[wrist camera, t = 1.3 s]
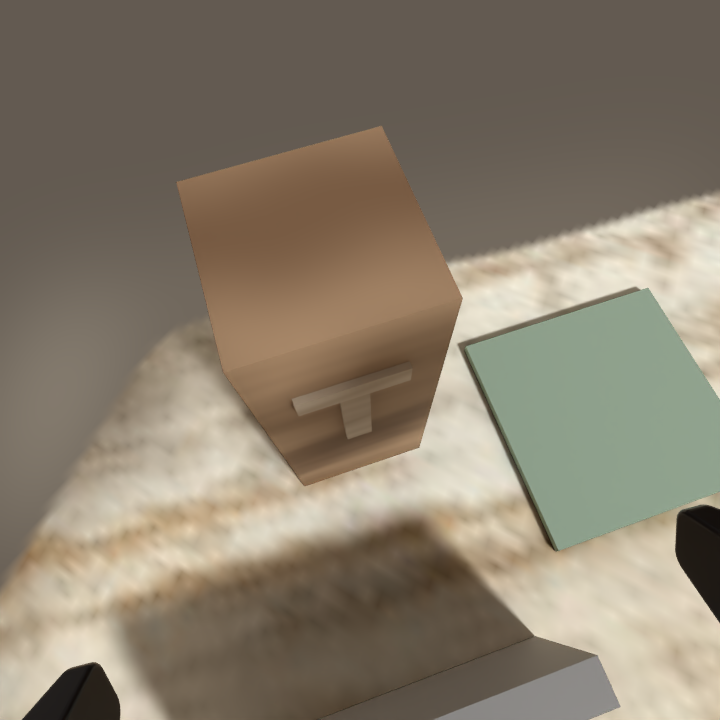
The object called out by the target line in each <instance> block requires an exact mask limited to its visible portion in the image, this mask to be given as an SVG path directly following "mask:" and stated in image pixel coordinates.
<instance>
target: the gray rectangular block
mask: <svg viewBox="0 0 720 720" xmlns="http://www.w3.org/2000/svg"><path fill="white" fill-rule="evenodd" d="M619 707H620V704H619V702H618V700H617V698H616V696H615V693H614V691H613V689H612V687H611V684H610V682H609V680H608V678H607V676H606V673H605V671H604V669H603V667H602V664H601V662H600V660H599V658H598V655H595V654H591V653H588V652H585V651H582V650H578V649H575V648H572V647H569V646H565V645H562V644H559V643H556V642H552V641H549V640H546V639H543V638H539V637H536V636H535V637H532V638H530V639H527V640H524V641H522V642H519V643H516V644H514V645H511V646H509V647H506V648H503V649H501V650H498V651H496V652H493V653H490V654H488V655H485V656H483V657H480V658H477V659H475V660H472V661H469V662H467V663H464V664H462V665H459V666H456V667H454V668H451V669H449V670H446V671H443V672H441V673H438V674H436V675H433V676H430V677H428V678H425V679H422V680H420V681H417V682H415V683H412V684H409V685H407V686H404V687H402V688H399V689H396V690H394V691H391V692H388V693H386V694H383V695H381V696H378V697H375V698H373V699H370V700H368V701H365V702H362V703H360V704H357V705H355V706H352V707H349V708H347V709H344V710H341V711H339V712H336V713H334V714H331V715H328V716H326V717H323V718H321V719H318V720H589V719H592V718H594V717H597V716H599V715H602V714H604V713H607V712H609V711H611V710H614V709H616V708H619Z"/></svg>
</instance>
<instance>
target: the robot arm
mask: <svg viewBox="0 0 720 720" xmlns="http://www.w3.org/2000/svg"><path fill="white" fill-rule="evenodd" d="M675 552H676V557H677V560H678V562H679V564H680V566H681V567H682V569H683V570H684V572H685V573H686V575H687V576H688V578H689V579H690V581H691V582H692V584H693V585H694V586H695V588H696V589H697V591H698V592H699V594H700V595H701V597H702V598H703V599H704V601H705V602H706V604H707V605H708V607H709V608H710V610H711V611H712V613H713V614H714V615H715V617H716V618H717V620H718V621H719V623H720V509H718V508H715V507H712V506H709V505H698V506H695V507H691V508H687V509H683V510H681V511H680V512H679V513H678V515H677V523H676V544H675ZM22 720H120V703H119V699H118V696H117V694H116V693H115V691H114V689H113V687H112V685H111V683H110V681H109V679H108V677H107V676H106V674H105V672H104V670H103V668H102V667H101V665H100V664H98V663H96V662H91V663H87V664H84V665H80V666H76V667H72V668H70V669H68V670H66V671H65V672H64V673H63V674H62V675H61V676H60V677H59V678H58V679H57V680H56V682H55V683H54V684H53V685H52V686H51V687H50V688H49V690H48V691H47V692H46V693H45V694H44V695H43V696H42V698H41V699H40V700H39V701H38V702H37V703H36V704H35V705H34V707H33V708H32V709H31V710H30V711H29V712H28V713H27V715H26V716H25V717H24V718H23V719H22Z"/></svg>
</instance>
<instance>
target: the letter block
mask: <svg viewBox="0 0 720 720" xmlns="http://www.w3.org/2000/svg"><path fill="white" fill-rule="evenodd" d="M176 183H177V187H178V191H179V195H180V199H181V203H182V207H183V211H184V215H185V219H186V224H187V228H188V232H189V235H190V240H191V244H192V248H193V252H194V256H195V260H196V264H197V268H198V272H199V276H200V280H201V284H202V288H203V293H204V297H205V300H206V305H207V309H208V313H209V317H210V321H211V325H212V329H213V333H214V337H215V341H216V345H217V349H218V353H219V357H220V361H221V366H222V370H223V373H224V374H225V376H226V377H227V379H228V380H229V381H230V383H231V384H232V386H233V387H234V388H235V390H236V391H237V393H238V394H239V395H240V397H241V398H242V400H243V401H244V402H245V404H246V405H247V406H248V408H249V409H250V411H251V412H252V413H253V415H254V416H255V418H256V419H257V420H258V422H259V423H260V425H261V426H262V427H263V429H264V430H265V432H266V433H267V434H268V436H269V437H270V439H271V440H272V441H273V443H274V444H275V445H276V447H277V448H278V450H279V451H280V452H281V454H282V455H283V457H284V458H285V459H286V461H287V462H288V464H289V465H290V466H291V468H292V469H293V471H294V472H295V473H296V475H297V476H298V478H299V479H300V480H301V482H302V483H303V485H304V486H307V485H310V484H313V483H316V482H319V481H322V480H324V479H327V478H330V477H333V476H336V475H339V474H342V473H345V472H348V471H351V470H354V469H357V468H360V467H363V466H366V465H369V464H372V463H375V462H378V461H381V460H384V459H387V458H390V457H393V456H396V455H398V454H401V453H404V452H407V451H410V450H413V449H416V448H419V446H420V443H421V439H422V436H423V433H424V429H425V426H426V422H427V419H428V415H429V412H430V409H431V405H432V402H433V398H434V395H435V391H436V388H437V385H438V381H439V378H440V374H441V371H442V367H443V364H444V360H445V357H446V354H447V350H448V347H449V343H450V340H451V336H452V333H453V330H454V326H455V323H456V319H457V316H458V312H459V309H460V306H461V302H462V299H463V298H462V296H461V294H460V291H459V289H458V287H457V285H456V283H455V281H454V279H453V277H452V274H451V272H450V270H449V268H448V266H447V264H446V262H445V260H444V258H443V255H442V253H441V251H440V249H439V247H438V245H437V243H436V241H435V239H434V236H433V234H432V232H431V230H430V228H429V226H428V224H427V222H426V219H425V217H424V215H423V213H422V211H421V209H420V207H419V205H418V202H417V200H416V198H415V196H414V194H413V192H412V190H411V187H410V185H409V183H408V181H407V179H406V177H405V175H404V173H403V171H402V168H401V166H400V164H399V162H398V160H397V158H396V156H395V154H394V152H393V150H392V147H391V145H390V143H389V141H388V139H387V137H386V134H385V132H384V131H383V128H382V126H380V127H376V128H372V129H369V130H365V131H361V132H358V133H354V134H351V135H347V136H343V137H339V138H336V139H333V140H328V141H325V142H321V143H317V144H314V145H310V146H307V147H303V148H299V149H295V150H292V151H289V152H284V153H281V154H277V155H274V156H270V157H266V158H263V159H259V160H255V161H252V162H248V163H244V164H241V165H237V166H233V167H230V168H226V169H223V170H219V171H215V172H211V173H208V174H205V175H201V176H197V177H193V178H189V179H186V180H182V181H178V182H176Z"/></svg>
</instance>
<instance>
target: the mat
mask: <svg viewBox="0 0 720 720" xmlns="http://www.w3.org/2000/svg"><path fill="white" fill-rule="evenodd" d="M465 352H466V355H467V357H468V359H469V361H470V364H471V366H472V368H473V370H474V372H475V375H476V377H477V379H478V381H479V383H480V386H481V388H482V390H483V392H484V394H485V397H486V399H487V401H488V403H489V406H490V408H491V410H492V412H493V414H494V417H495V419H496V421H497V423H498V425H499V428H500V430H501V432H502V434H503V436H504V439H505V441H506V443H507V445H508V448H509V450H510V452H511V454H512V456H513V459H514V461H515V463H516V465H517V467H518V470H519V472H520V474H521V476H522V478H523V481H524V483H525V485H526V487H527V490H528V492H529V494H530V496H531V498H532V501H533V503H534V505H535V507H536V509H537V512H538V514H539V516H540V518H541V520H542V523H543V525H544V527H545V529H546V532H547V534H548V536H549V538H550V540H551V543H552V545H553V547H554V549H555V551H560V550H562V549H565V548H568V547H571V546H573V545H576V544H579V543H581V542H584V541H587V540H590V539H592V538H595V537H598V536H600V535H603V534H606V533H609V532H611V531H614V530H617V529H620V528H622V527H625V526H628V525H630V524H633V523H636V522H639V521H641V520H644V519H647V518H649V517H652V516H655V515H658V514H660V513H663V512H666V511H668V510H671V509H674V508H677V507H679V506H682V505H685V504H688V503H690V502H693V501H696V500H698V499H701V498H704V497H707V496H709V495H712V494H715V493H717V492H720V399H719V398H718V396H717V395H716V393H715V392H714V390H713V389H712V387H711V385H710V384H709V382H708V381H707V379H706V378H705V376H704V374H703V373H702V371H701V370H700V368H699V367H698V365H697V363H696V362H695V360H694V359H693V357H692V356H691V354H690V353H689V351H688V349H687V348H686V346H685V345H684V343H683V342H682V340H681V338H680V337H679V335H678V334H677V332H676V331H675V329H674V327H673V326H672V324H671V323H670V321H669V320H668V318H667V317H666V315H665V313H664V312H663V310H662V309H661V307H660V306H659V304H658V302H657V301H656V299H655V298H654V296H653V295H652V293H651V291H650V290H649V288H646V289H643V290H640V291H636V292H633V293H630V294H627V295H624V296H621V297H618V298H615V299H612V300H608V301H605V302H602V303H599V304H596V305H593V306H590V307H587V308H584V309H580V310H577V311H574V312H571V313H568V314H565V315H562V316H559V317H556V318H553V319H549V320H546V321H543V322H540V323H537V324H534V325H531V326H528V327H525V328H521V329H518V330H515V331H512V332H509V333H506V334H503V335H500V336H497V337H493V338H490V339H487V340H484V341H481V342H478V343H475V344H472V345H469V346H466V347H465Z"/></svg>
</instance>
